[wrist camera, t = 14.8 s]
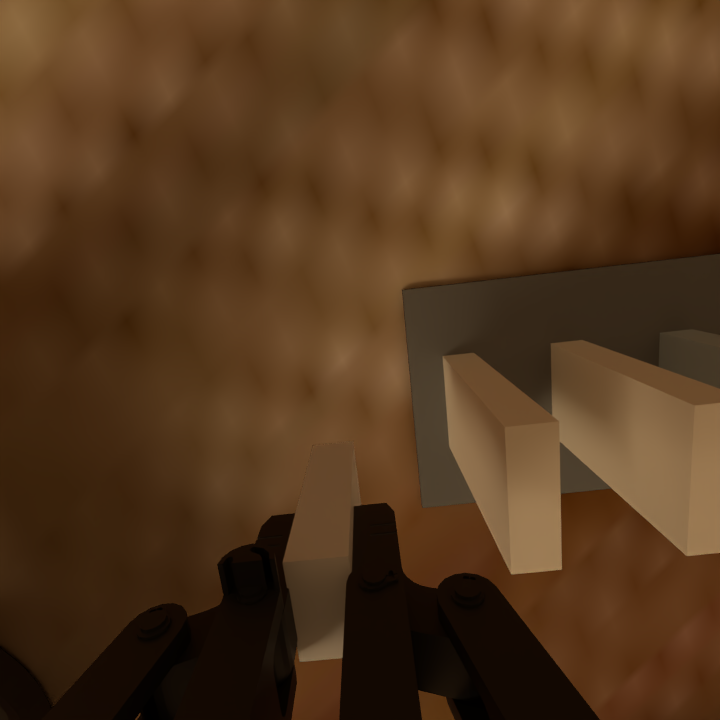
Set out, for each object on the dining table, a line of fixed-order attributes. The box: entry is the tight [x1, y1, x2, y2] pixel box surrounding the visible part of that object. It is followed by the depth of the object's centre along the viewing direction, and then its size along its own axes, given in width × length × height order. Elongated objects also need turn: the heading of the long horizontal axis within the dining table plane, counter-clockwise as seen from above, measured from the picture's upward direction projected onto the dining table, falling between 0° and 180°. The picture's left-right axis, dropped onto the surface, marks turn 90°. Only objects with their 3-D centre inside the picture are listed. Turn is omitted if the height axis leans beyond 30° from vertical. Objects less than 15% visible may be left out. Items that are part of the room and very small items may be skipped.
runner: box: [402, 254, 720, 508], centre depth 23 cm, size 30×12×1 cm, turn 96°
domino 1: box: [443, 353, 562, 575], centre depth 19 cm, size 2×5×10 cm, turn 7°
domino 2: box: [551, 340, 720, 556], centre depth 18 cm, size 2×5×10 cm, turn 7°
